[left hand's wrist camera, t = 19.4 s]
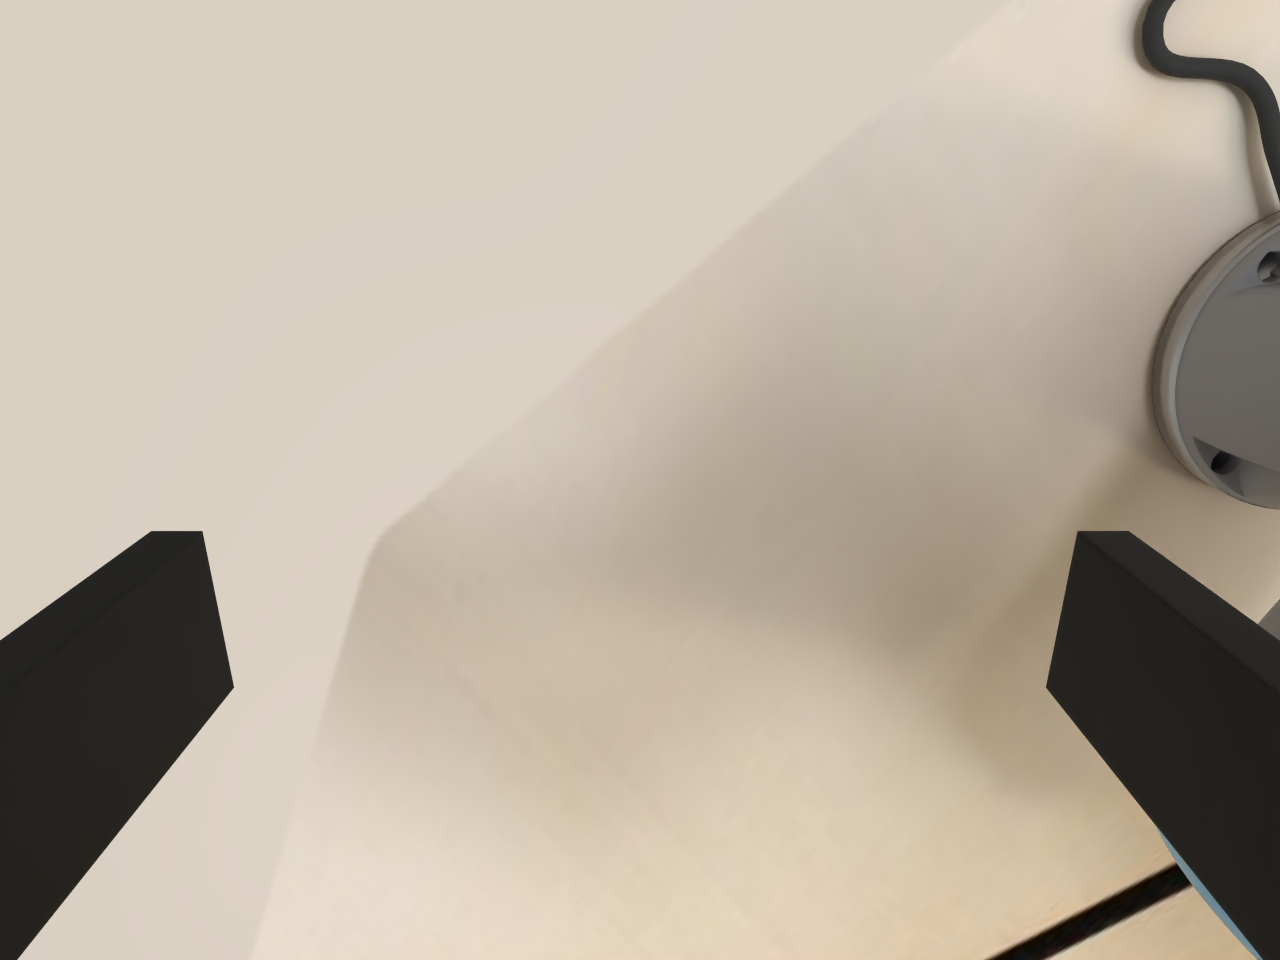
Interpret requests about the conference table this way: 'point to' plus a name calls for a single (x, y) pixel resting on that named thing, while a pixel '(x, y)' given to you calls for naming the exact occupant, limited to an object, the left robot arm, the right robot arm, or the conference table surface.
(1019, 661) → the conference table surface
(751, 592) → the conference table surface
